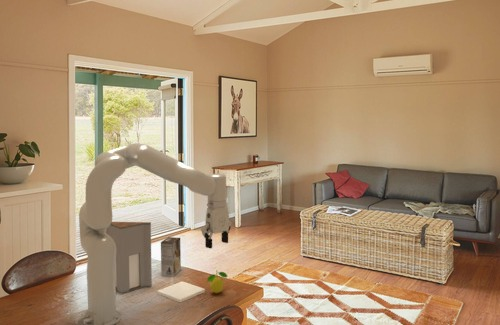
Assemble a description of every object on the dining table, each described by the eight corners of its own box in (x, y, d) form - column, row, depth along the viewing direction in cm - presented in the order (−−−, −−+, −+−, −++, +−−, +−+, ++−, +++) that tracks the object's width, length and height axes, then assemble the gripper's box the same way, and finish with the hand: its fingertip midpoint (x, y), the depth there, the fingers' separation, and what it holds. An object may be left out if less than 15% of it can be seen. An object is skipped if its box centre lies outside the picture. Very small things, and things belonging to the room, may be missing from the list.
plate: (180, 302, 170) (180, 299, 170) (157, 293, 179) (156, 290, 179) (205, 291, 181) (205, 289, 181) (182, 283, 190) (182, 281, 190)
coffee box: (168, 269, 208) (168, 236, 207) (181, 270, 207) (180, 237, 205) (160, 275, 199) (160, 241, 198) (174, 277, 198) (173, 242, 197)
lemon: (227, 292, 181) (227, 269, 180) (220, 297, 176) (220, 273, 175) (213, 289, 184) (213, 266, 183) (206, 294, 179) (206, 270, 178)
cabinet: (151, 285, 187) (150, 222, 185) (145, 294, 178) (144, 227, 175) (103, 284, 188) (102, 221, 185) (95, 293, 178) (93, 227, 176)
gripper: (208, 208, 167) (209, 251, 169) (237, 202, 181) (237, 242, 182) (195, 206, 172) (195, 248, 173) (224, 199, 185) (224, 239, 187)
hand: (217, 245), depth 178 cm, fingers open, 9 cm apart
